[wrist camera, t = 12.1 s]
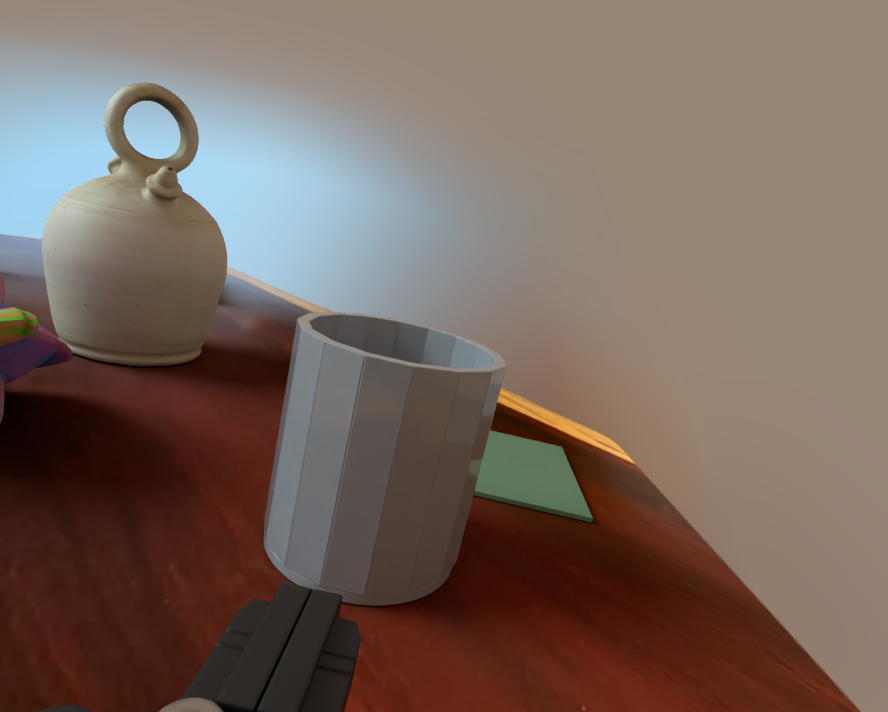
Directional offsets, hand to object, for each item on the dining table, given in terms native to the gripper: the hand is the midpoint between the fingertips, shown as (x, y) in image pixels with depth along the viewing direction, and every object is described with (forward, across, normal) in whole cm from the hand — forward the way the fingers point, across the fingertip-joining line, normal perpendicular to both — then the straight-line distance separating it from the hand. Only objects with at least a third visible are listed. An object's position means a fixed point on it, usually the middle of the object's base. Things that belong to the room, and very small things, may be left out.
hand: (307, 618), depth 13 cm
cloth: (+32, -4, +8) cm, 33 cm away
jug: (+40, +29, +8) cm, 50 cm away
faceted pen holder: (+16, +1, +8) cm, 18 cm away
